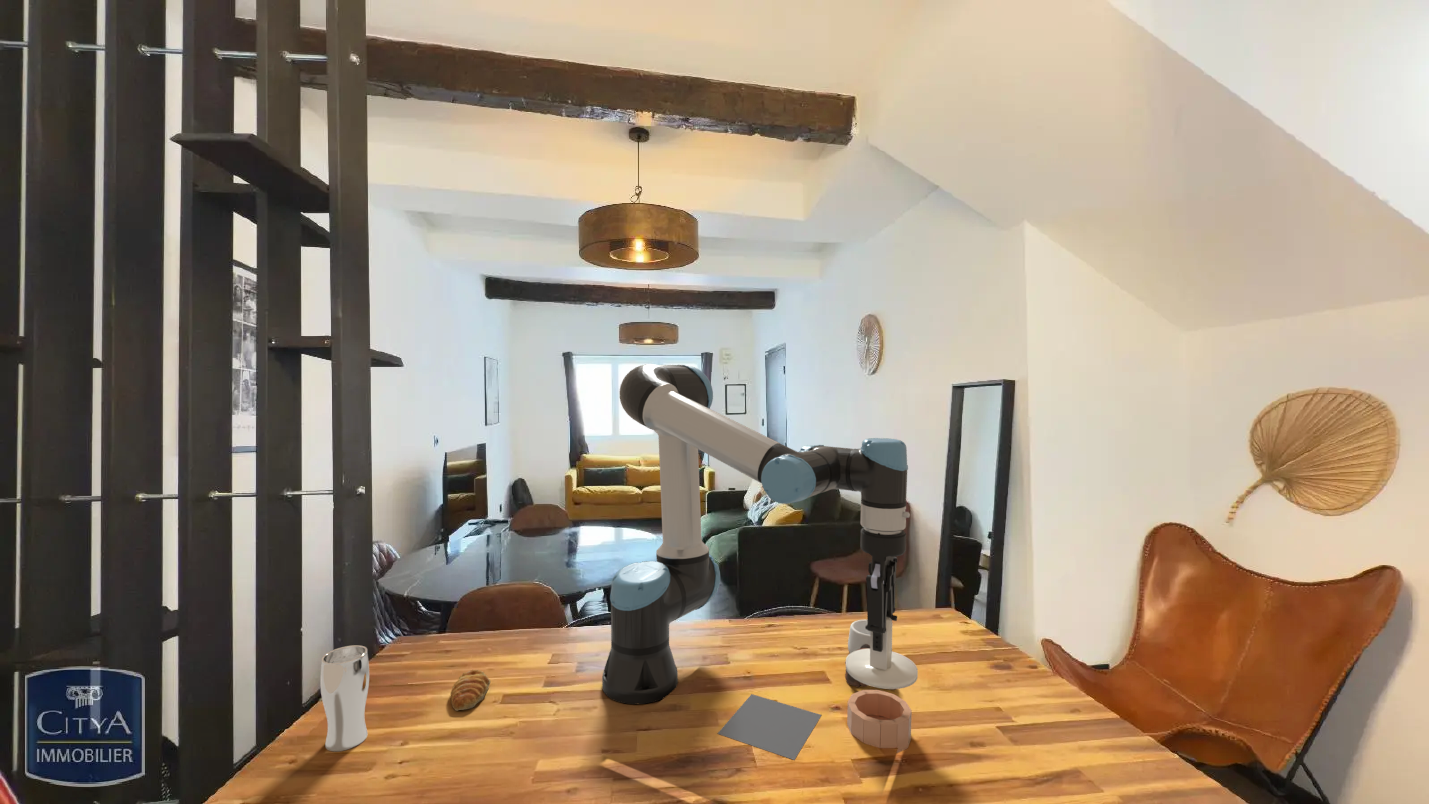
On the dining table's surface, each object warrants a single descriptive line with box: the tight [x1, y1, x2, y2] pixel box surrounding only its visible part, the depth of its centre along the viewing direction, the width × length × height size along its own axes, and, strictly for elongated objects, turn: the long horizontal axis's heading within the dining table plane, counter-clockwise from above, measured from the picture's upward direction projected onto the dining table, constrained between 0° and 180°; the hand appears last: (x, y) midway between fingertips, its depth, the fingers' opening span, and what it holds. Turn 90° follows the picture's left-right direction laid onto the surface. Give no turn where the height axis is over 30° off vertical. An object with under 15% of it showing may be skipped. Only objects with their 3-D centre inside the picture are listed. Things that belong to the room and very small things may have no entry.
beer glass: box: [319, 644, 370, 752], centre depth 98 cm, size 7×7×15 cm
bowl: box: [846, 689, 913, 754], centre depth 101 cm, size 10×10×5 cm
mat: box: [717, 693, 823, 761], centre depth 102 cm, size 14×14×1 cm
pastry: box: [450, 669, 491, 711], centre depth 111 cm, size 9×7×4 cm
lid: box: [845, 617, 919, 690], centre depth 100 cm, size 12×12×9 cm
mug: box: [847, 619, 870, 654], centre depth 129 cm, size 12×10×6 cm
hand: (881, 661), depth 100 cm, fingers closed on lid, 3 cm apart
